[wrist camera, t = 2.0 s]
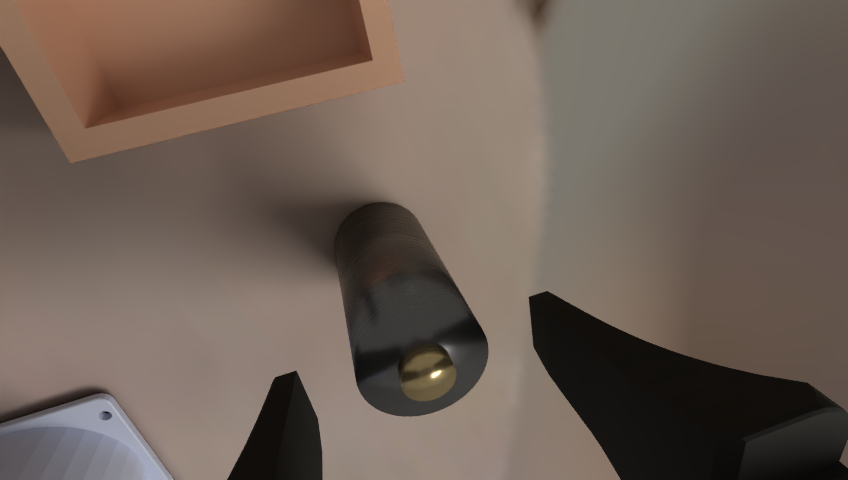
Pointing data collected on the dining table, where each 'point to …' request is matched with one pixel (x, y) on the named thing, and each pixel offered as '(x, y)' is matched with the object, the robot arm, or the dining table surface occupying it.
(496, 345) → the dining table surface
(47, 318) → the dining table surface
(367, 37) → the tray
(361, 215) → the pepper mill
